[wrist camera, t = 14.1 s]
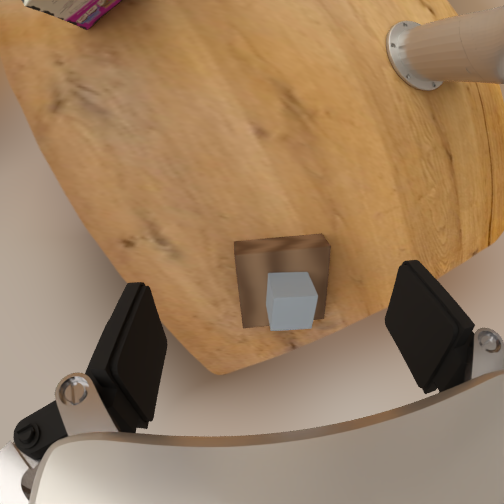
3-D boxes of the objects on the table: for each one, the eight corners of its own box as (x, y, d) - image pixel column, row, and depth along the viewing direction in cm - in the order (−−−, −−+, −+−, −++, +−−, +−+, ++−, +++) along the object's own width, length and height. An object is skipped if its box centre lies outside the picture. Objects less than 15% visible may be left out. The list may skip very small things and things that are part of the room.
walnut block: (321, 232, 44) (330, 246, 40) (316, 301, 51) (324, 318, 46) (233, 240, 44) (234, 255, 39) (241, 309, 50) (243, 328, 46)
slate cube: (307, 271, 42) (318, 295, 36) (302, 303, 44) (311, 328, 39) (268, 272, 41) (273, 297, 36) (265, 304, 44) (270, 330, 39)
